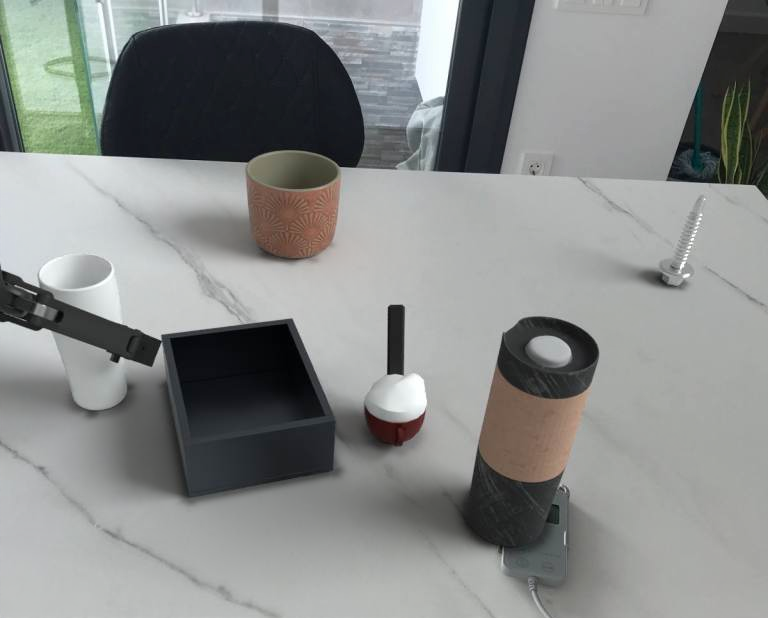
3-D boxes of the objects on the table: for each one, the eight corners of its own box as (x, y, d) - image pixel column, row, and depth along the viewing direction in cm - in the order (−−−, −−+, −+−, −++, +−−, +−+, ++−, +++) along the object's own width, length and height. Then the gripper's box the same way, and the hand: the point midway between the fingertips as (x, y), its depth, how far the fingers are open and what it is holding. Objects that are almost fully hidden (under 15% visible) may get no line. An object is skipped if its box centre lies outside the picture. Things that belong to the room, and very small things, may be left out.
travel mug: (555, 549, 69) (614, 375, 57) (471, 550, 68) (512, 373, 56) (535, 486, 75) (585, 315, 62) (457, 486, 74) (492, 313, 62)
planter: (346, 229, 112) (350, 157, 105) (326, 273, 102) (329, 196, 95) (263, 216, 113) (261, 144, 106) (235, 258, 103) (232, 181, 96)
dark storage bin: (167, 384, 82) (160, 334, 78) (292, 366, 86) (292, 317, 82) (189, 497, 70) (183, 445, 66) (333, 470, 75) (336, 419, 70)
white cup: (70, 424, 77) (40, 296, 67) (62, 382, 81) (32, 258, 72) (140, 409, 79) (120, 284, 70) (128, 370, 84) (108, 247, 74)
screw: (667, 292, 105) (647, 273, 109) (696, 288, 107) (676, 270, 110) (699, 204, 97) (676, 187, 101) (730, 201, 99) (707, 185, 102)
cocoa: (410, 466, 76) (424, 370, 68) (350, 450, 77) (356, 353, 69) (434, 407, 83) (448, 314, 75) (378, 393, 84) (387, 300, 76)
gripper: (-220, 267, 59) (-16, 329, 79) (38, 369, 52) (189, 408, 72) (-181, 176, 59) (11, 261, 80) (80, 265, 52) (218, 334, 73)
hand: (96, 331), depth 76 cm, fingers open, 13 cm apart
